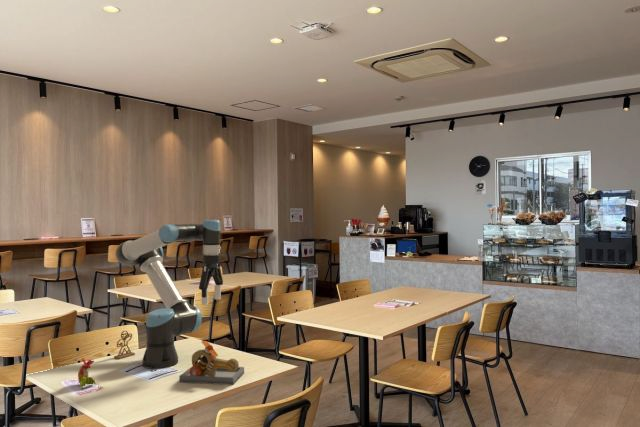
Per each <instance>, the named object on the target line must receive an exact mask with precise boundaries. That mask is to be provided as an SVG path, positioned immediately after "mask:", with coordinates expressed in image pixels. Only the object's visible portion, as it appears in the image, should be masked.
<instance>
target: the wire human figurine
mask: <svg viewBox="0 0 640 427" xmlns="http://www.w3.org/2000/svg"><path fill="white" fill-rule="evenodd" d="M128 338H129V339H128ZM132 338H133V334H132V333H129V332H128V331H127V330H122V332H121V333H120V339H118V340H117V342H116V347H117V348H120V349H119V351H118V354H117V355H113V359H115V360H122V359H126V358H128V357H133V356H135V355H136V352H133V351H131V349H130V347H129V346H128V344H129V342H130V341H131V340H132ZM127 339H128V340H127ZM120 341H123V342H120ZM126 347H127V349H126ZM122 349H123V350H122Z"/></svg>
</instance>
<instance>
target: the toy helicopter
mask: <svg viewBox="0 0 640 427" xmlns="http://www.w3.org/2000/svg"><path fill="white" fill-rule="evenodd" d="M201 344H202V345H203V346H204V349H198V350H196V351H195V352H194V353H192V355H191V364H192V366H193V367H192V366H191V367H192V368H191V367H190V368H191V369H190V375H191V376H201V375H208V376H215V375H216V370H217V368H224V369H228V370H229V371H230V372H234V371H236V370H237V369H238V367H240V365H239V361H238V360H237V359H236V358H230V359H223V358H217V357H219V354H218V353H217V352H216V350H215V349H214V346H213V345H212V344H210V343H209V342H208V341H207V340H202V341H201Z"/></svg>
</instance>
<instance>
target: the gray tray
mask: <svg viewBox="0 0 640 427" xmlns="http://www.w3.org/2000/svg"><path fill="white" fill-rule="evenodd" d="M192 367H193V365H192V366H190V367H189V368H188V369H186V370H185V371H184V372H182V374H180V375H179V383H188V384H189V383H190V384H191V383H192V384H208V385H210V384H211V385H231V386H234V385H235V384H236V382H238V381H239V379H240V378H241V377H242V376H243V375H244V374H245V366H239V367H238V369H237V370H236V371H234V372H230V371H229V370H228V369H224V368H217V370H216V375H215V376H208V375H201V376H191V375H190V369H191V368H192Z"/></svg>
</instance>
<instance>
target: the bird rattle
mask: <svg viewBox="0 0 640 427" xmlns="http://www.w3.org/2000/svg"><path fill="white" fill-rule="evenodd" d="M80 360H81V361H82V362H83V364H82V365H80V366H79V369H78V373H77V379H78V380H77V381H78V384H79V383H80V385H79V387H80V388H82V387H83V386H84V387H85V386H86V385H88V384H93V385H96V384H97V383H96V382H95V379H94V378H93V377H92V376H89V369H91V368H92V367H91V365H92V364H93V363H94V362H95V360H92V359H89V360H87V361H86V359H85V358H84V357H82V358H81V359H80Z"/></svg>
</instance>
